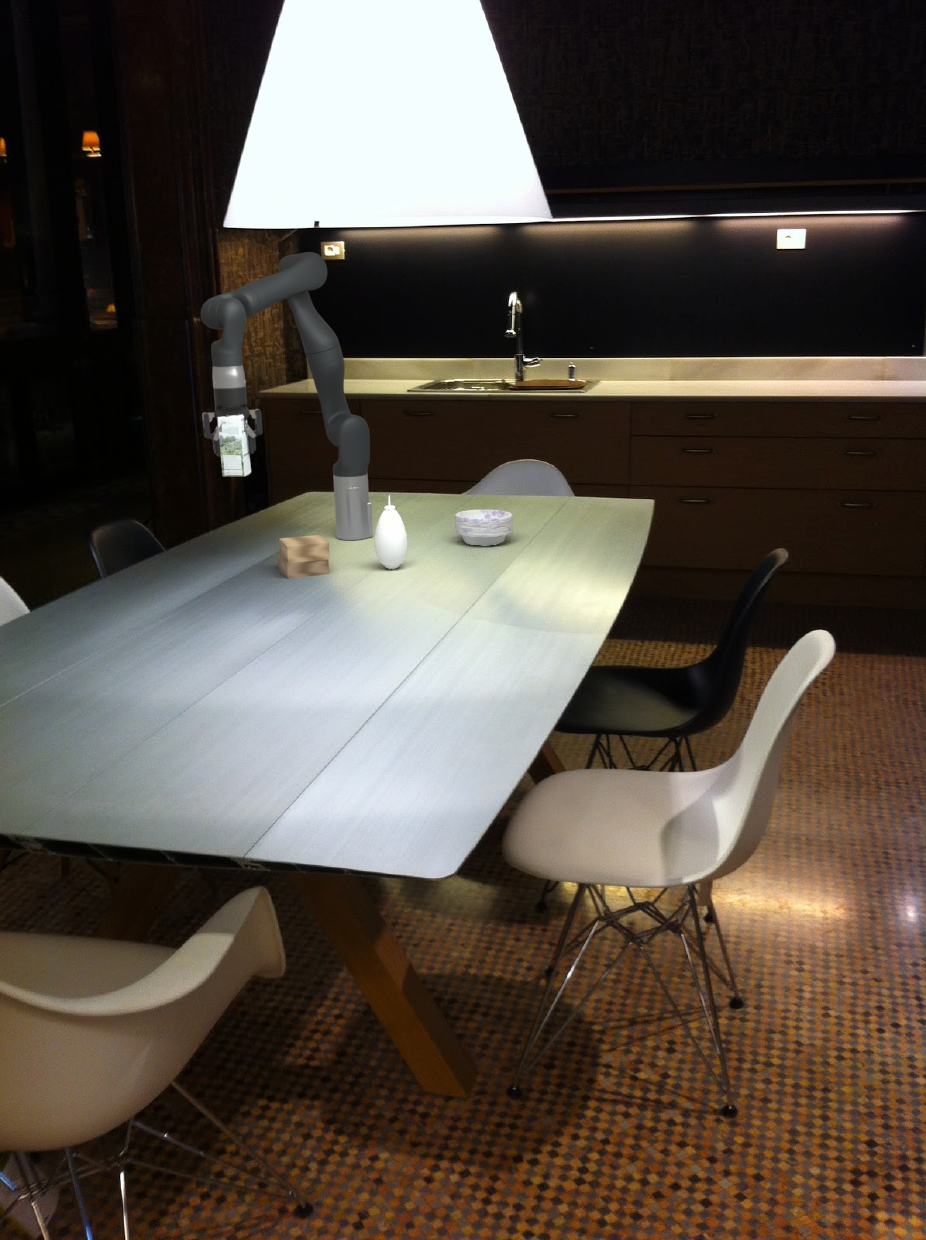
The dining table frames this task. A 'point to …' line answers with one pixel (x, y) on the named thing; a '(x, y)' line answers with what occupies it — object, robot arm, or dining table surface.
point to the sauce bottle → (390, 538)
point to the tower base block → (303, 568)
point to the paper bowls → (483, 526)
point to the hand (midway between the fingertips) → (235, 454)
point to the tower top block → (304, 548)
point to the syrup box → (234, 446)
